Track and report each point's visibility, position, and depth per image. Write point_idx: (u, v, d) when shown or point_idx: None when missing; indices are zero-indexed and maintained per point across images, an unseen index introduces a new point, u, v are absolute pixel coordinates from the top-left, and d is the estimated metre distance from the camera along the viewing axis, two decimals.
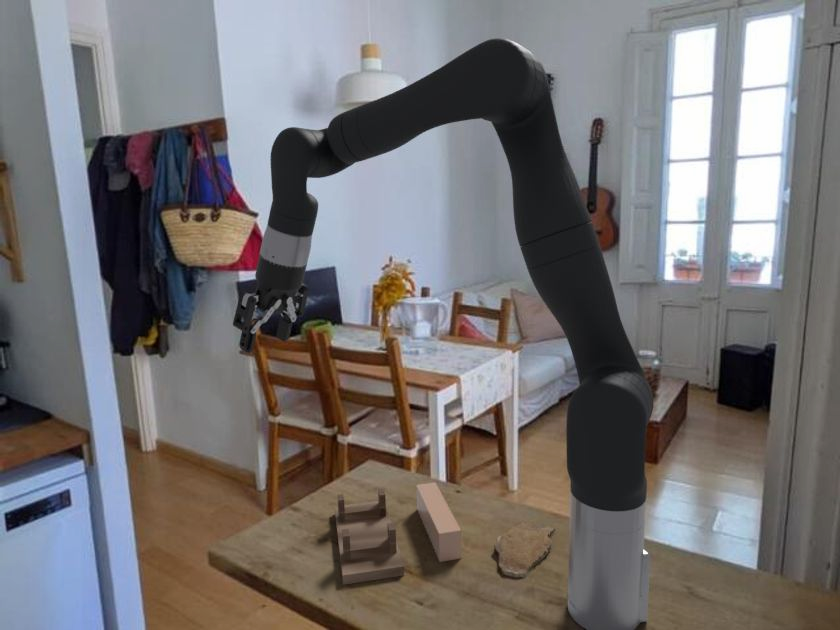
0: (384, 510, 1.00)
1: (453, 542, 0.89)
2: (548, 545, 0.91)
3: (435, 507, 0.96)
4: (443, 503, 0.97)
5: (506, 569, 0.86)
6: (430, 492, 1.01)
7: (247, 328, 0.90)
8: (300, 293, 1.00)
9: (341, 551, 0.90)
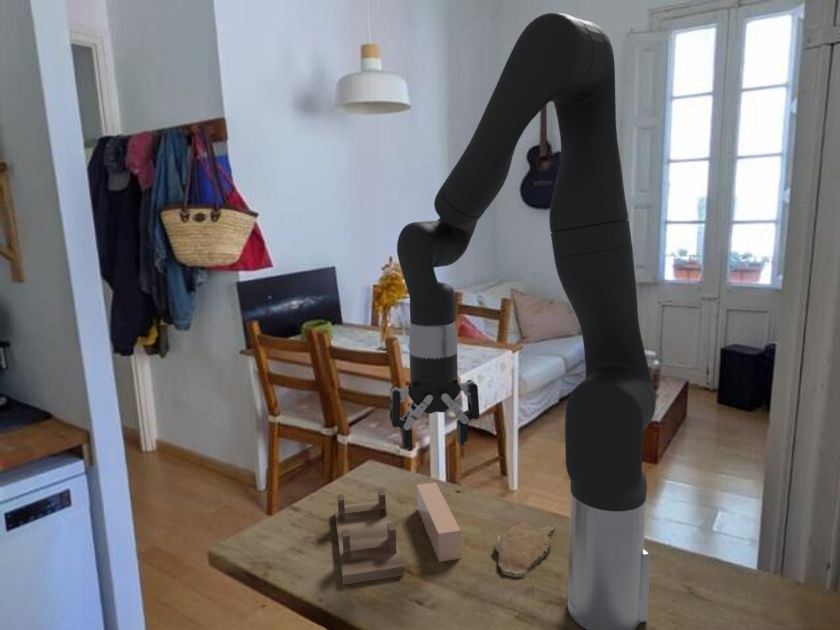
0: (384, 510, 1.00)
1: (452, 542, 0.89)
2: (548, 545, 0.91)
3: (435, 507, 0.96)
4: (443, 503, 0.97)
5: (505, 569, 0.86)
6: (430, 492, 1.01)
7: (396, 423, 0.91)
8: (468, 392, 0.93)
9: (341, 551, 0.90)
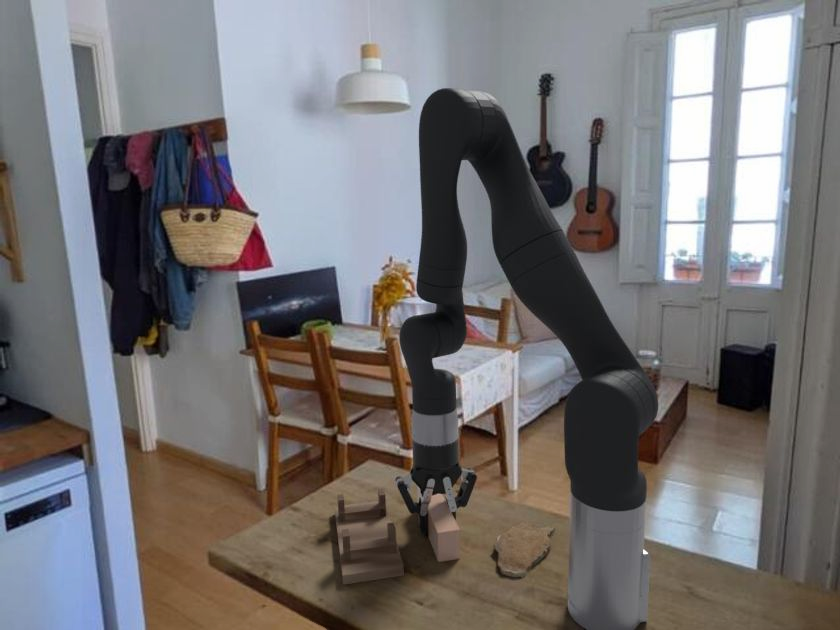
0: (384, 510, 1.00)
1: (451, 541, 0.89)
2: (547, 545, 0.91)
3: (434, 506, 0.96)
4: (442, 502, 0.97)
5: (505, 568, 0.86)
6: None
7: (413, 509, 0.94)
8: (466, 479, 0.96)
9: (341, 551, 0.90)
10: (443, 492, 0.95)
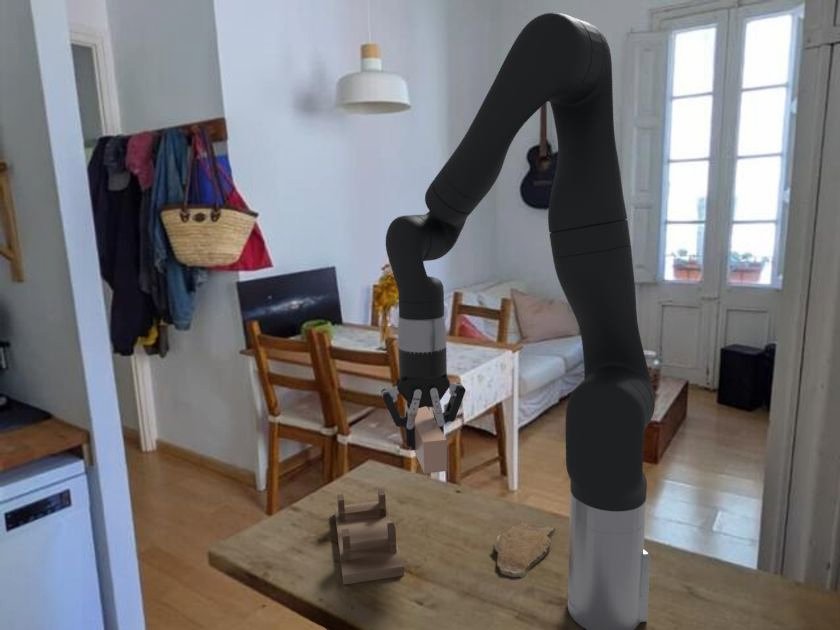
0: (384, 510, 1.00)
1: (438, 451, 0.86)
2: (547, 545, 0.91)
3: (422, 422, 0.93)
4: (430, 419, 0.94)
5: (504, 568, 0.86)
6: (418, 410, 0.98)
7: (399, 422, 0.91)
8: (454, 392, 0.93)
9: (341, 551, 0.90)
10: (430, 405, 0.92)
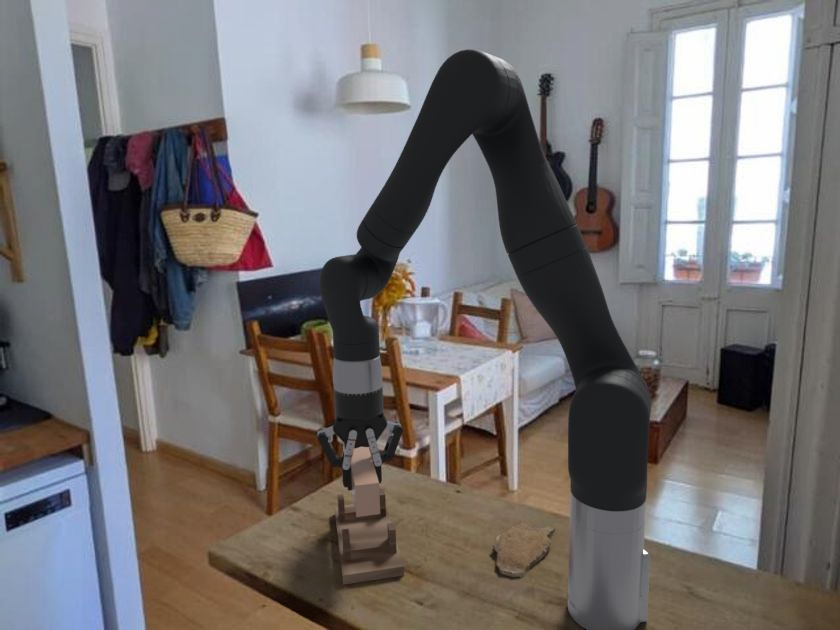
0: (384, 510, 1.00)
1: (370, 495, 0.85)
2: (547, 545, 0.91)
3: (359, 461, 0.92)
4: (368, 458, 0.93)
5: (503, 568, 0.86)
6: (358, 448, 0.97)
7: (334, 463, 0.90)
8: (392, 432, 0.92)
9: (341, 551, 0.90)
10: (367, 445, 0.91)
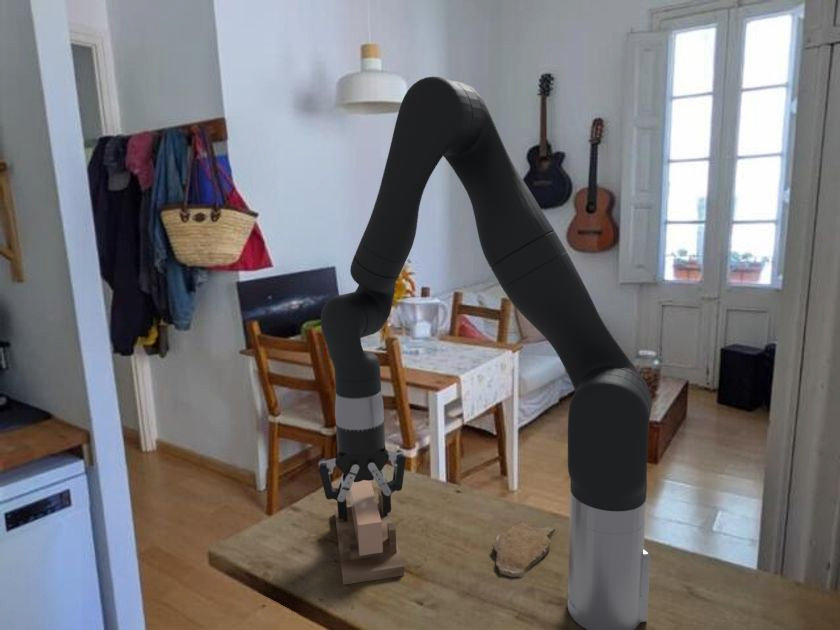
0: None
1: (373, 534, 0.86)
2: (547, 545, 0.91)
3: (361, 498, 0.93)
4: (370, 494, 0.94)
5: (503, 568, 0.86)
6: (360, 483, 0.98)
7: (329, 495, 0.91)
8: (395, 462, 0.93)
9: (341, 551, 0.90)
10: (373, 478, 0.92)
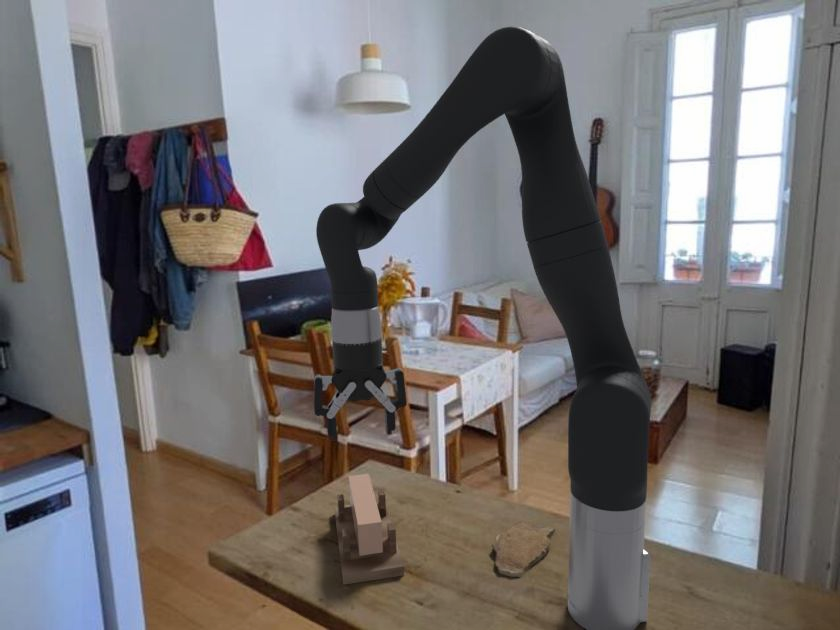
0: (384, 510, 1.00)
1: (373, 534, 0.86)
2: (546, 545, 0.91)
3: (361, 498, 0.93)
4: (370, 494, 0.94)
5: (502, 568, 0.86)
6: (360, 483, 0.98)
7: (318, 411, 0.89)
8: (394, 379, 0.91)
9: (341, 551, 0.90)
10: None
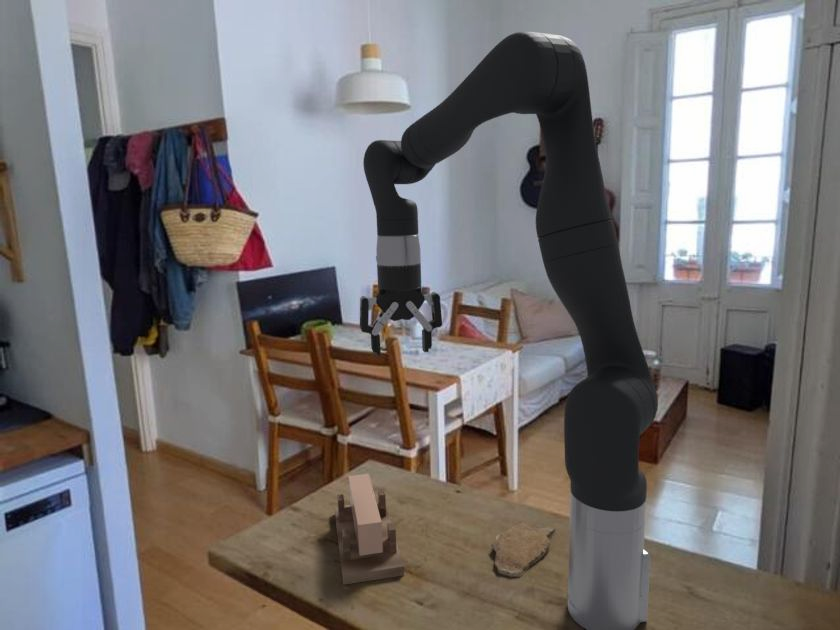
0: (384, 510, 1.00)
1: (373, 534, 0.86)
2: (546, 545, 0.91)
3: (361, 498, 0.93)
4: (370, 494, 0.94)
5: (501, 568, 0.86)
6: (360, 483, 0.98)
7: (364, 328, 1.00)
8: (431, 301, 1.02)
9: (341, 551, 0.90)
10: None
